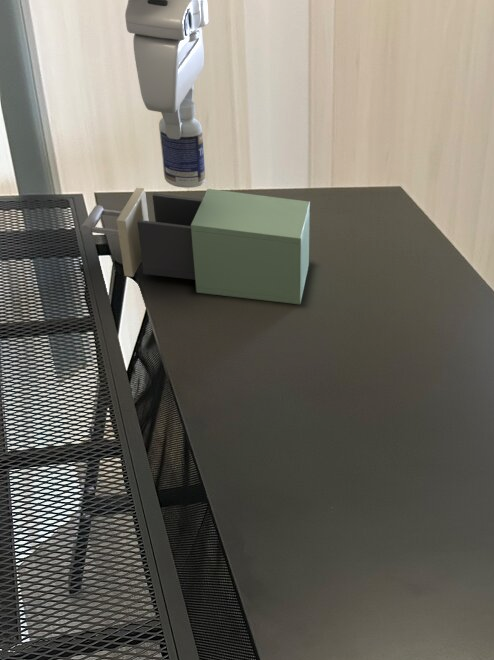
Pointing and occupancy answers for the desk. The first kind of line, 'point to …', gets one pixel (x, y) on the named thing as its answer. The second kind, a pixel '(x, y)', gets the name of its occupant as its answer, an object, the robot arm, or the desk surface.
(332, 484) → the desk surface
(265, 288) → the green drawer cabinet
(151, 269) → the drawer
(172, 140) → the pill bottle
